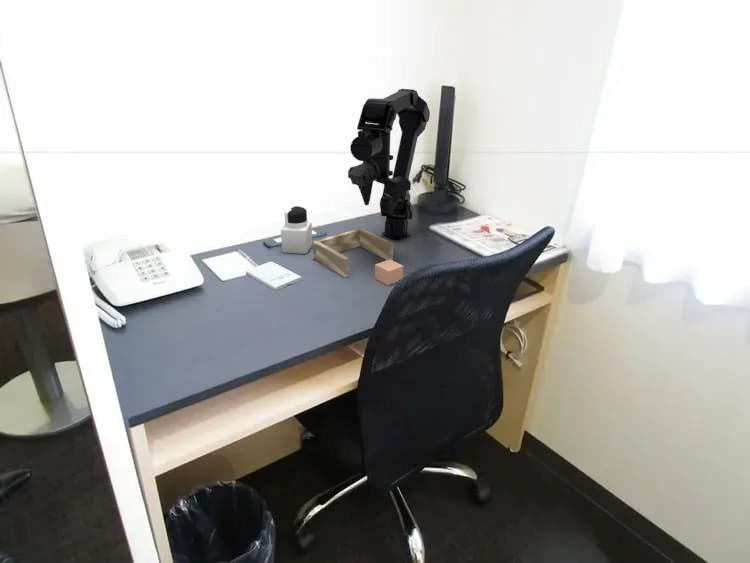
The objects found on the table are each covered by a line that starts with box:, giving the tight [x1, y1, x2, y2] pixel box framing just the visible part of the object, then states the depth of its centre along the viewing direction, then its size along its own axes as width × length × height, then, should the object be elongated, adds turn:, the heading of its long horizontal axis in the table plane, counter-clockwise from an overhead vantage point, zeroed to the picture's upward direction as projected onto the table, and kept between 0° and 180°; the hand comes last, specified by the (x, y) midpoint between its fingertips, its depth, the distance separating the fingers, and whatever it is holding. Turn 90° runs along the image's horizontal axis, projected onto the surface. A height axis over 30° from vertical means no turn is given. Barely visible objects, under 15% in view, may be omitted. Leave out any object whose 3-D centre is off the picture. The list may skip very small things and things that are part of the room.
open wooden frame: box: [312, 227, 394, 278], centre depth 130 cm, size 16×14×5 cm
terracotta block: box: [374, 259, 404, 286], centre depth 121 cm, size 5×5×4 cm
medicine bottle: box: [280, 205, 313, 255], centre depth 134 cm, size 7×7×12 cm
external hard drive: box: [245, 261, 303, 292], centre depth 121 cm, size 2×8×12 cm
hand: (378, 209), depth 130 cm, fingers open, 9 cm apart
